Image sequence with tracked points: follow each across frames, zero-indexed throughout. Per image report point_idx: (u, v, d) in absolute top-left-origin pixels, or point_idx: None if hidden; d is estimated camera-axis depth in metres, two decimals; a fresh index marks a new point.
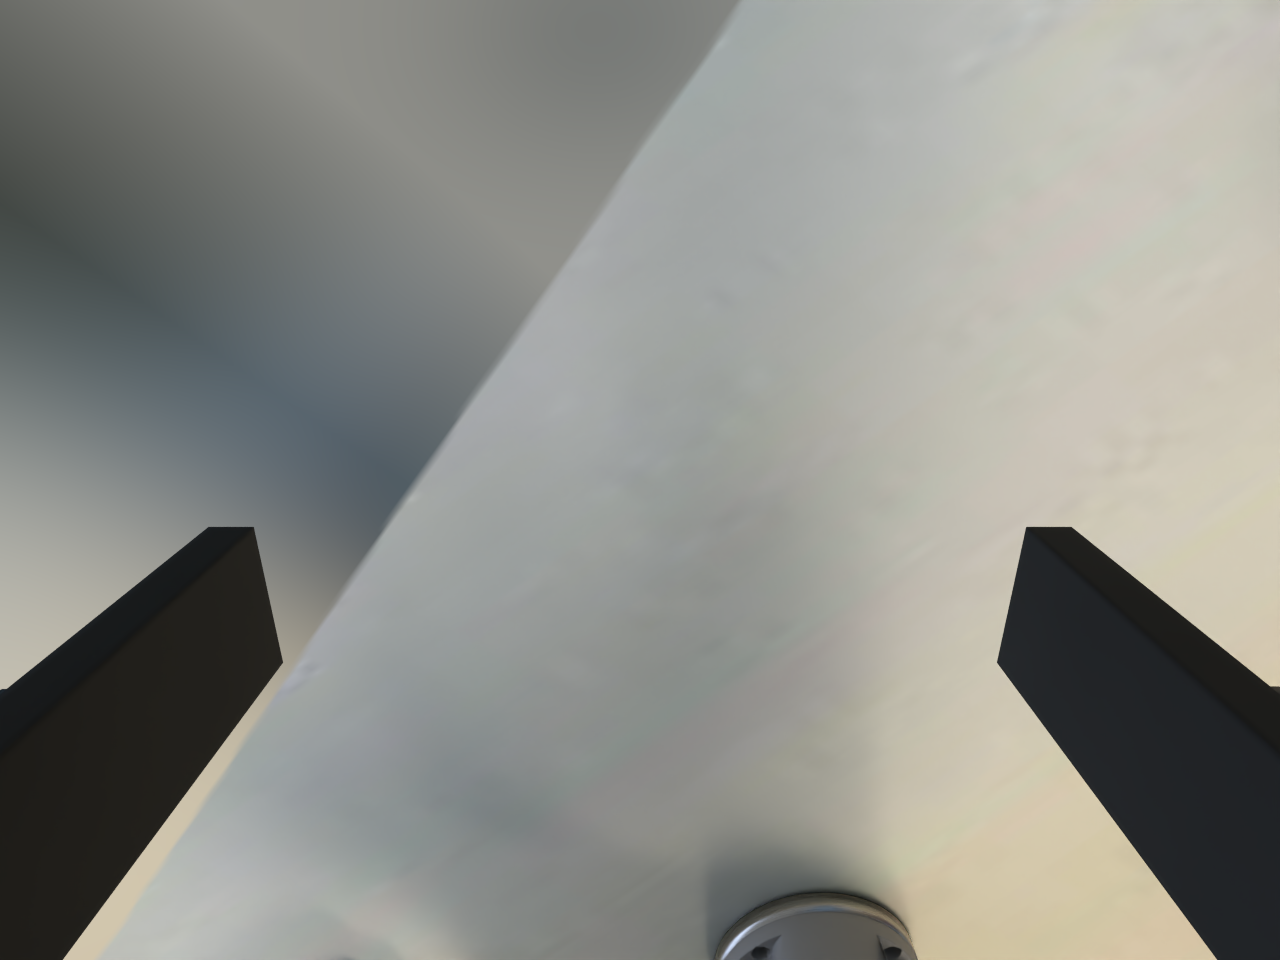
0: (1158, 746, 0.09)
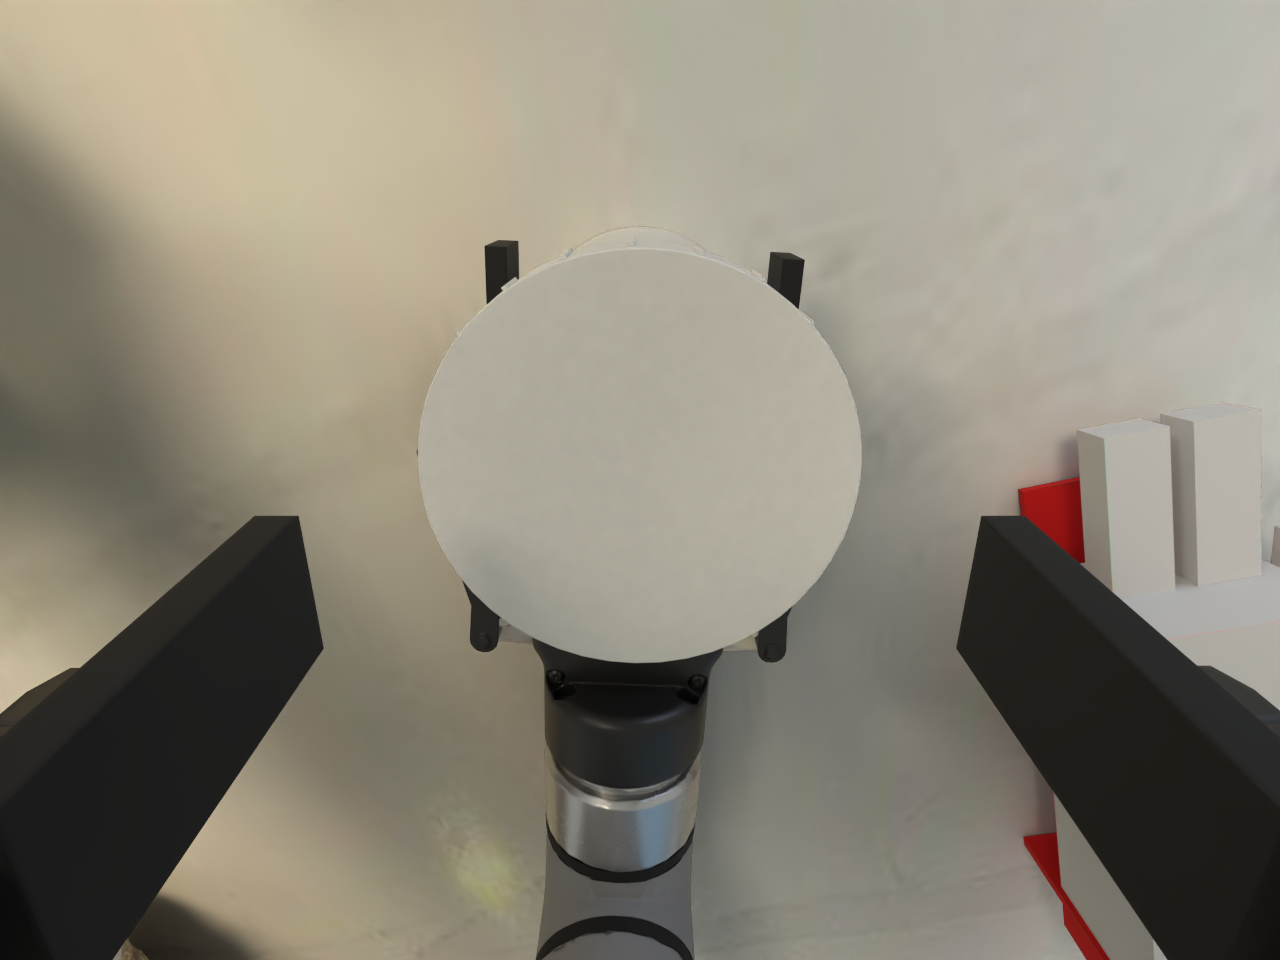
0: (1093, 722, 0.10)
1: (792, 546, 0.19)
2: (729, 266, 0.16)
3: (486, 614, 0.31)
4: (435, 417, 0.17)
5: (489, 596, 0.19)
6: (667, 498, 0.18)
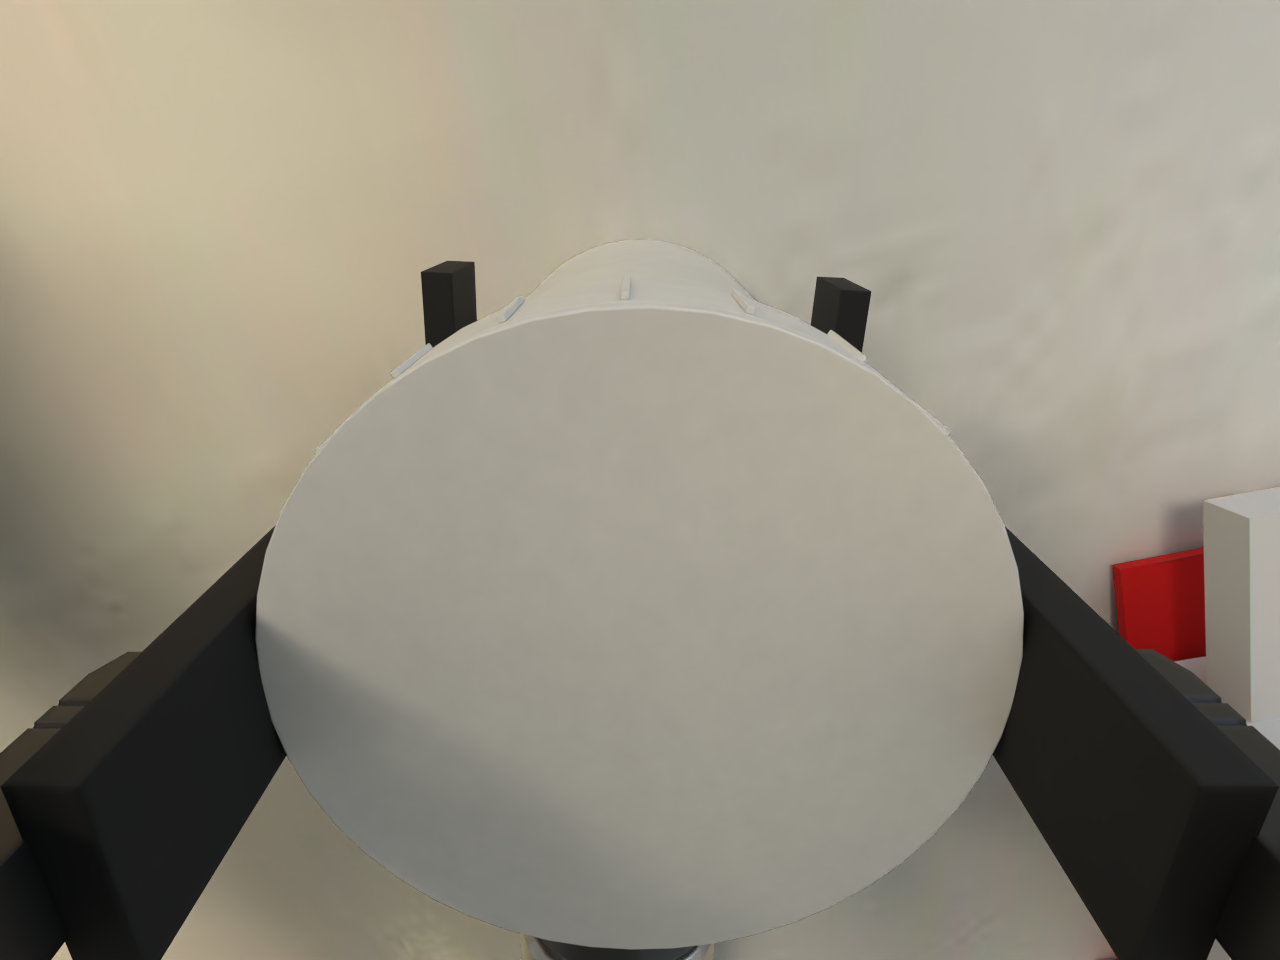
0: (1037, 703, 0.10)
1: (893, 789, 0.11)
2: (806, 339, 0.09)
3: None
4: (281, 595, 0.10)
5: (393, 859, 0.12)
6: (686, 719, 0.11)
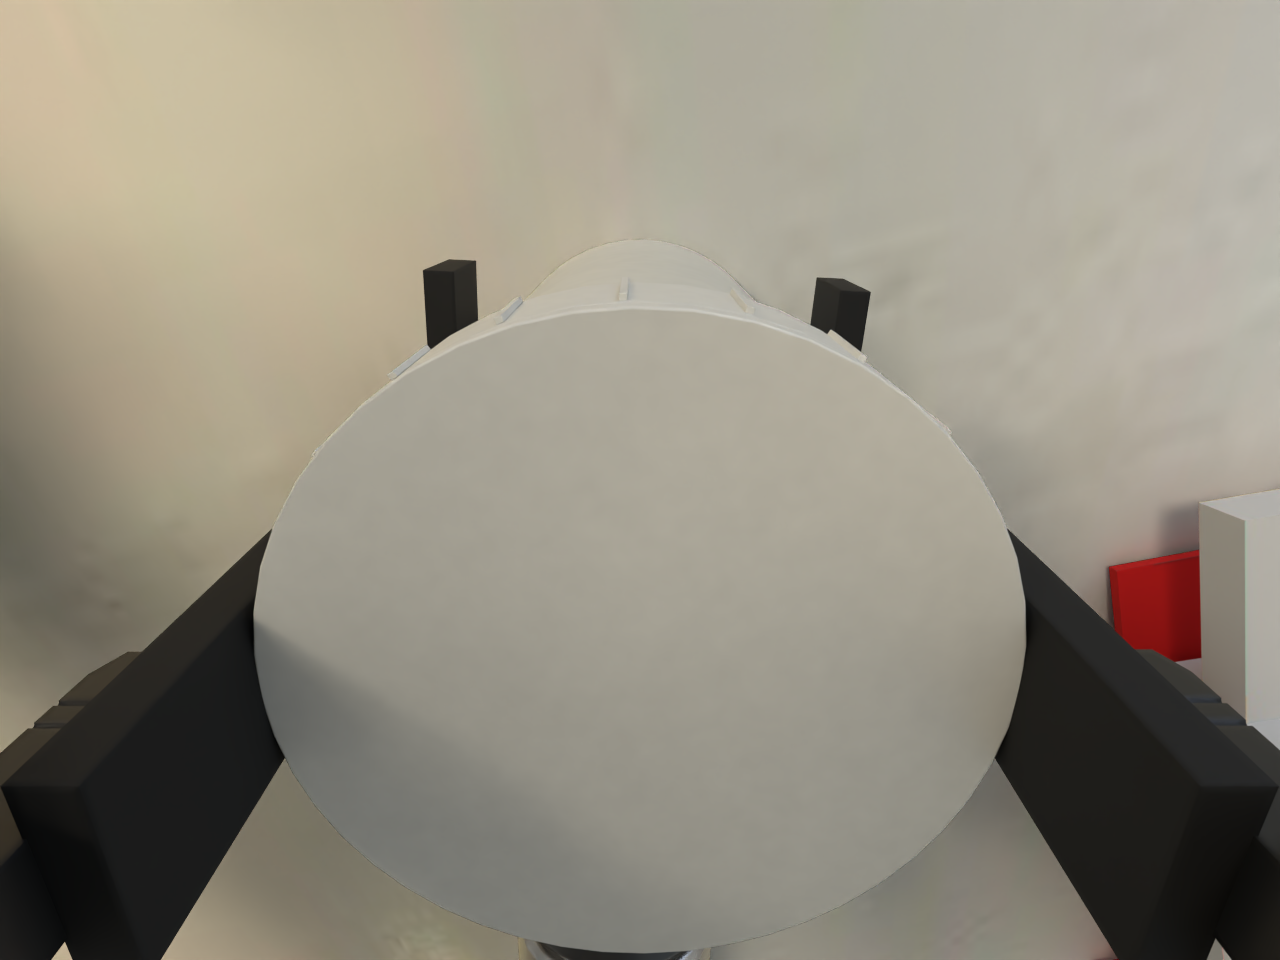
0: (1037, 703, 0.10)
1: (645, 400, 0.09)
2: (266, 710, 0.11)
3: None
4: (675, 940, 0.12)
5: (943, 809, 0.11)
6: (653, 642, 0.10)
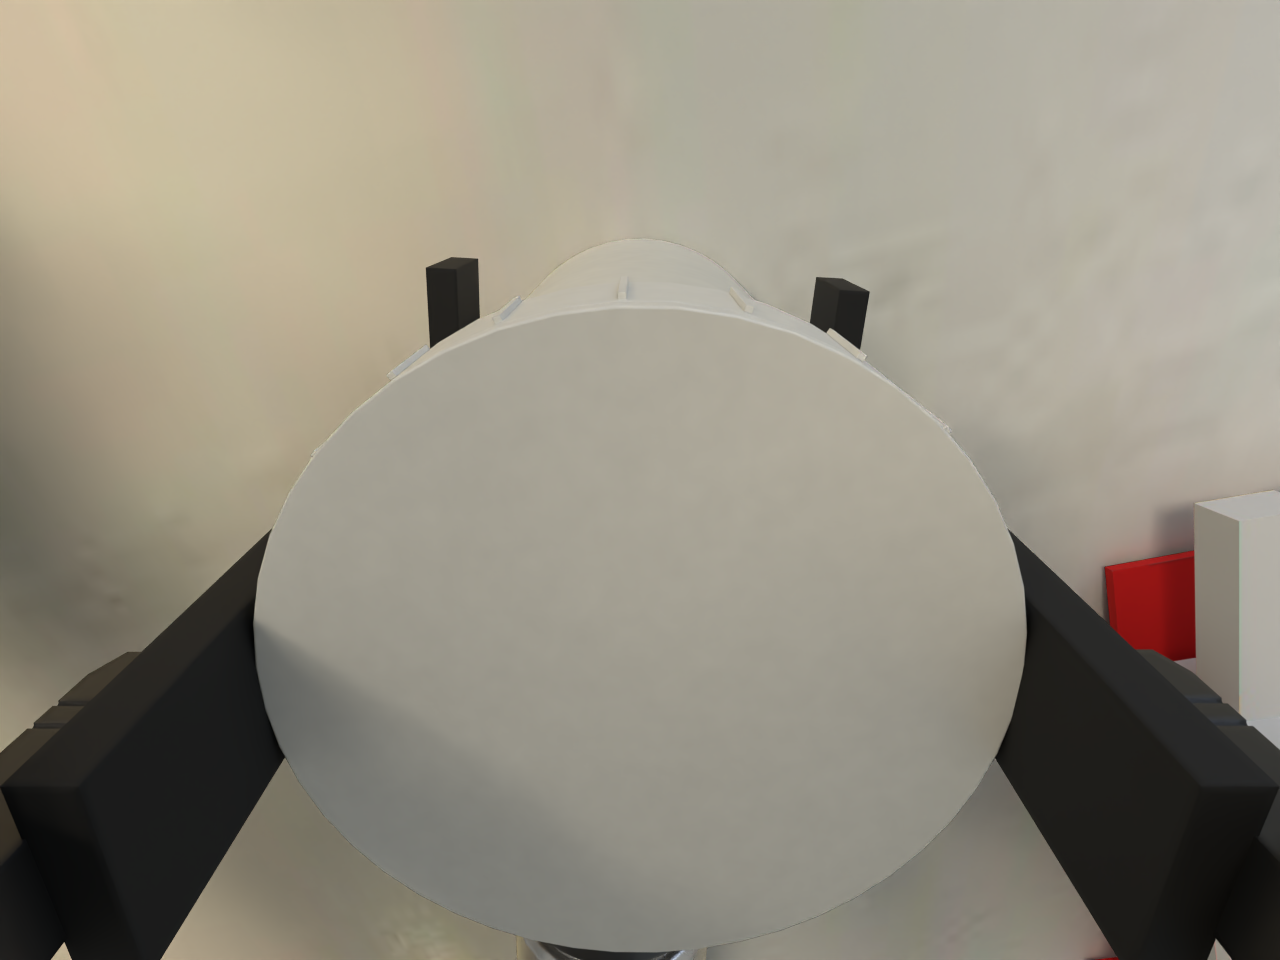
0: (1038, 704, 0.10)
1: (380, 786, 0.11)
2: (792, 925, 0.12)
3: None
4: (977, 523, 0.09)
5: (643, 329, 0.09)
6: (581, 702, 0.11)
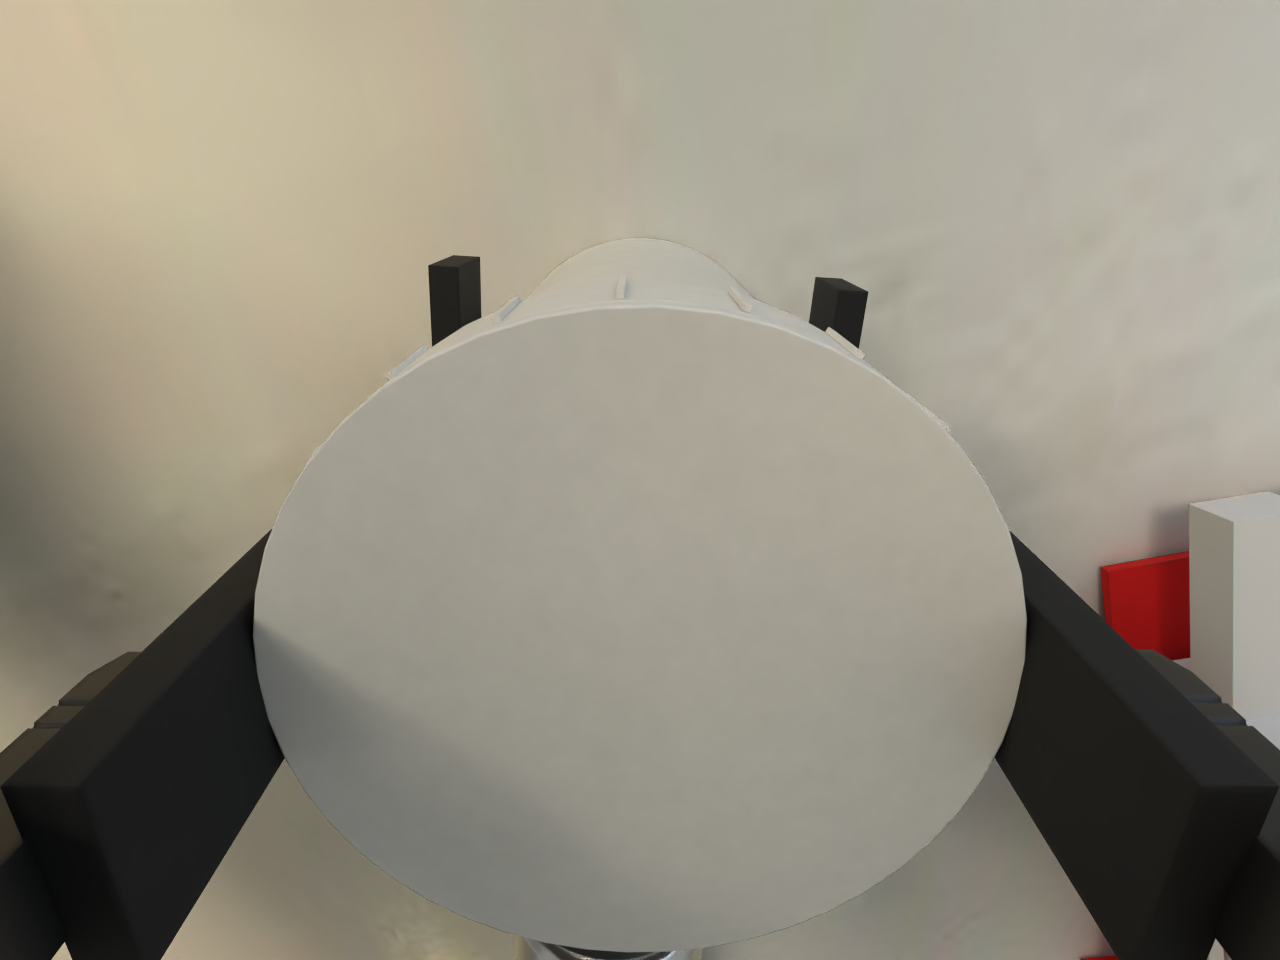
0: (1037, 704, 0.10)
1: (846, 839, 0.12)
2: (910, 399, 0.09)
3: None
4: (309, 511, 0.09)
5: (333, 805, 0.11)
6: (675, 730, 0.11)
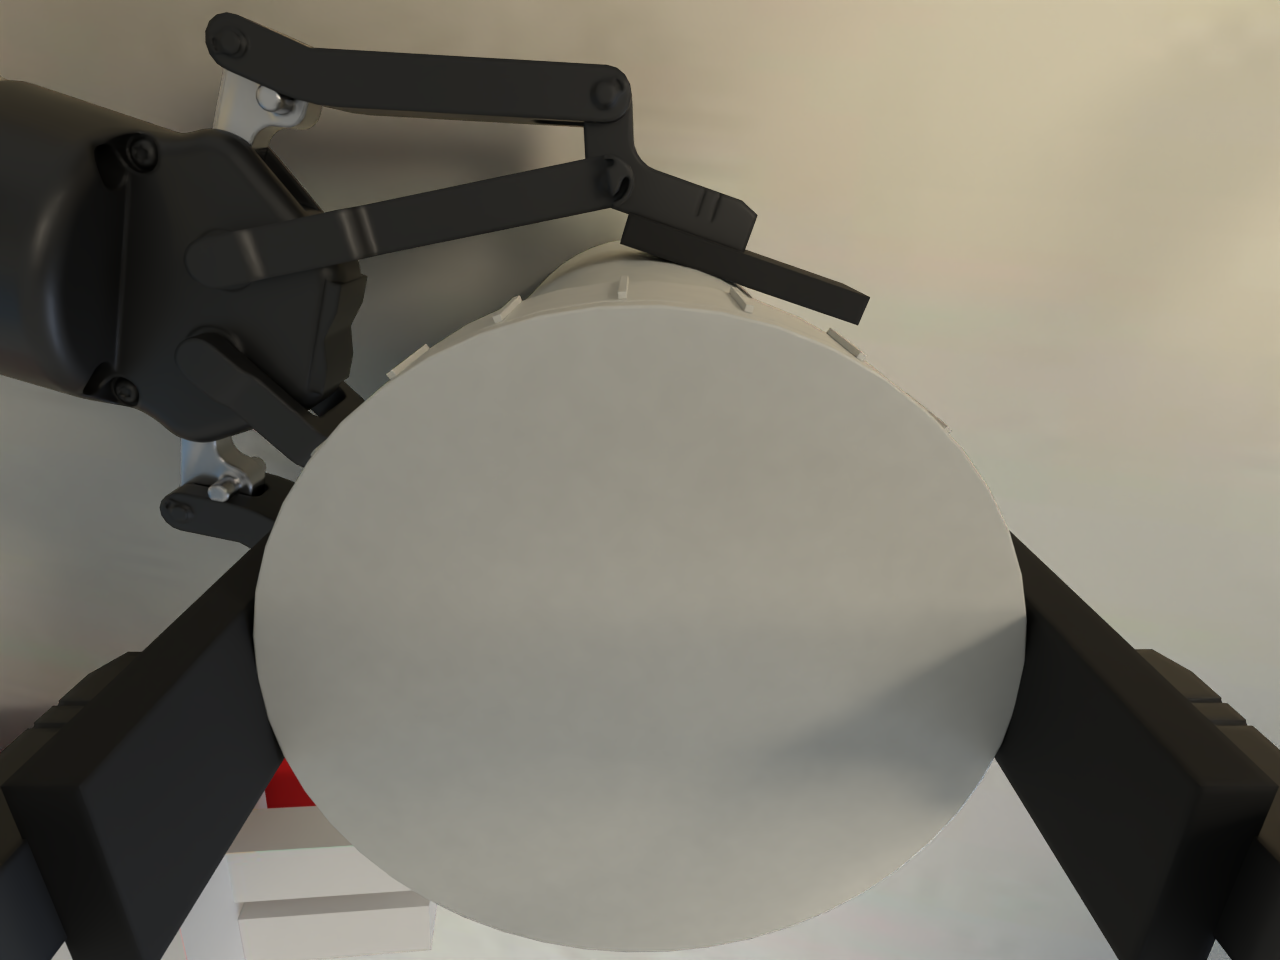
0: (1037, 703, 0.10)
1: (845, 840, 0.12)
2: (911, 400, 0.09)
3: (287, 70, 0.17)
4: (309, 509, 0.09)
5: (332, 804, 0.11)
6: (675, 730, 0.11)
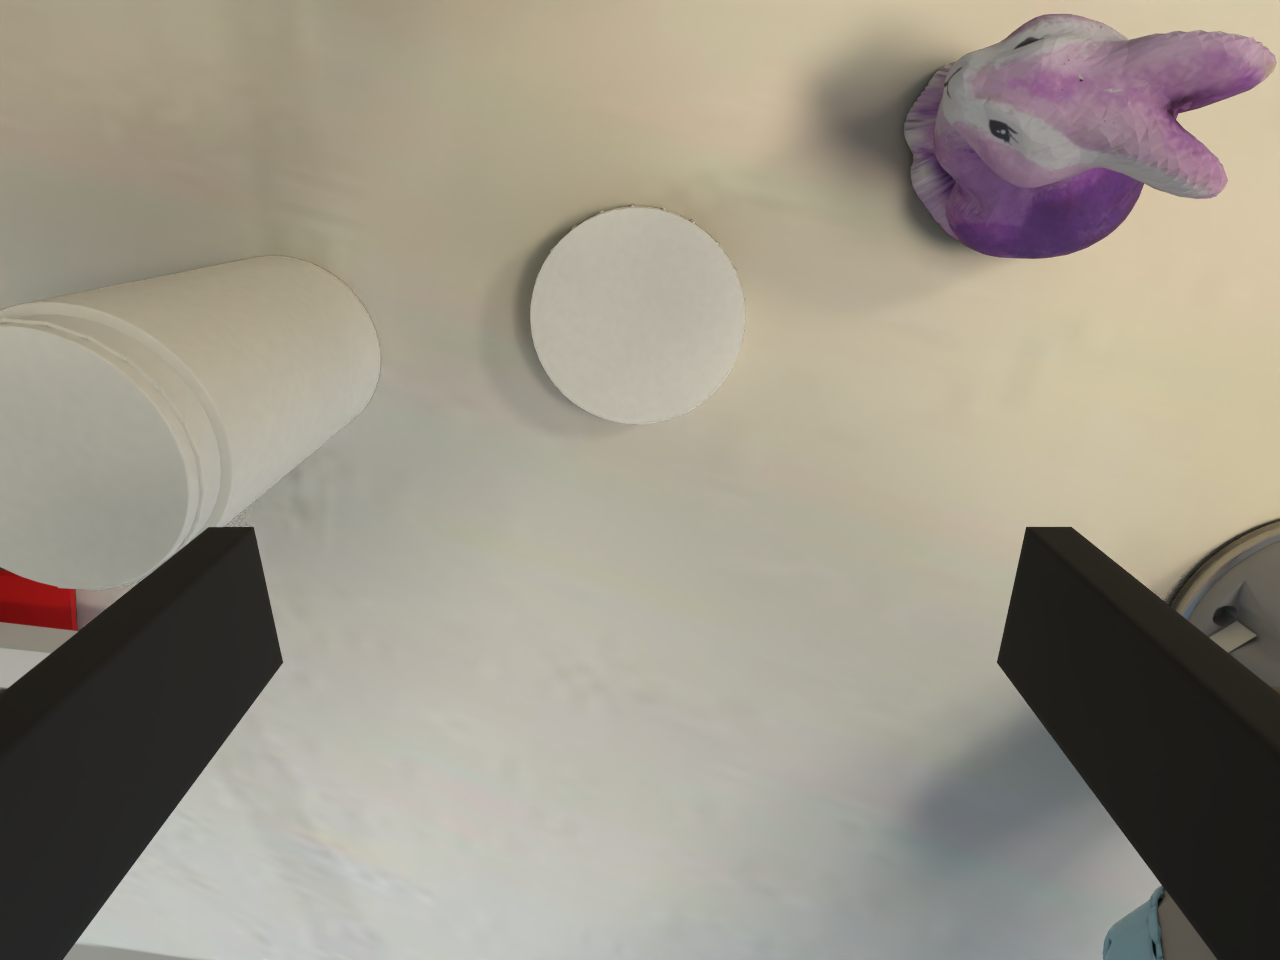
0: (1158, 746, 0.09)
1: (700, 377, 0.38)
2: (705, 232, 0.35)
3: None
4: (551, 263, 0.36)
5: (546, 363, 0.38)
6: (647, 335, 0.37)
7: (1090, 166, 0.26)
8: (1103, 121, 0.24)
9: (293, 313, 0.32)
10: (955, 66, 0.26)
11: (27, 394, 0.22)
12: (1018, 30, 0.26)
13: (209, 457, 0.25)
